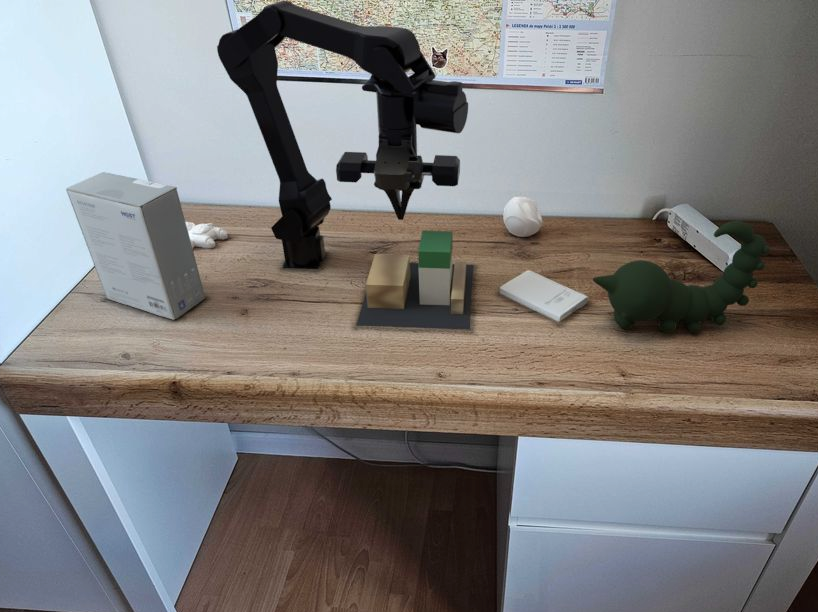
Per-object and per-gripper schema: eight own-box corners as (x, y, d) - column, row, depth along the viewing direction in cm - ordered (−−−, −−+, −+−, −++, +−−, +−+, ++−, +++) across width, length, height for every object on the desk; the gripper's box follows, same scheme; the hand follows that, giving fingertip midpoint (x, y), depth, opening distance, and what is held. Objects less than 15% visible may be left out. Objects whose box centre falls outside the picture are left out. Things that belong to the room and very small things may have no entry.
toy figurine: (718, 313, 112) (574, 307, 109) (761, 209, 101) (601, 200, 98) (742, 346, 105) (588, 341, 102) (790, 239, 93) (618, 230, 91)
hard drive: (528, 276, 118) (587, 303, 112) (498, 295, 113) (558, 324, 107) (529, 269, 117) (588, 295, 111) (499, 287, 112) (559, 315, 106)
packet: (394, 292, 109) (424, 239, 103) (399, 270, 115) (428, 219, 109) (443, 315, 111) (475, 265, 105) (445, 292, 117) (477, 244, 111)
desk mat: (356, 327, 106) (356, 325, 106) (375, 263, 122) (374, 261, 122) (469, 331, 105) (469, 329, 105) (473, 266, 121) (473, 264, 121)
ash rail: (450, 314, 108) (450, 298, 106) (454, 275, 118) (454, 260, 116) (463, 314, 108) (463, 299, 106) (466, 276, 118) (466, 261, 116)
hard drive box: (208, 298, 112) (179, 187, 100) (175, 322, 107) (140, 207, 95) (138, 277, 118) (103, 169, 105) (104, 299, 112) (62, 187, 100)
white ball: (542, 244, 128) (546, 207, 123) (503, 244, 128) (505, 206, 123) (538, 225, 134) (542, 189, 129) (501, 225, 134) (503, 188, 129)
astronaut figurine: (204, 255, 124) (200, 240, 122) (154, 242, 128) (150, 228, 126) (234, 235, 130) (231, 220, 128) (186, 223, 134) (182, 209, 132)
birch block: (367, 307, 110) (365, 284, 107) (376, 276, 118) (374, 253, 115) (404, 309, 109) (402, 285, 107) (410, 277, 117) (409, 254, 114)
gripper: (323, 140, 93) (334, 240, 103) (455, 145, 92) (454, 245, 102) (339, 114, 102) (348, 208, 112) (461, 118, 101) (459, 212, 111)
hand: (401, 218), depth 109 cm, fingers closed
